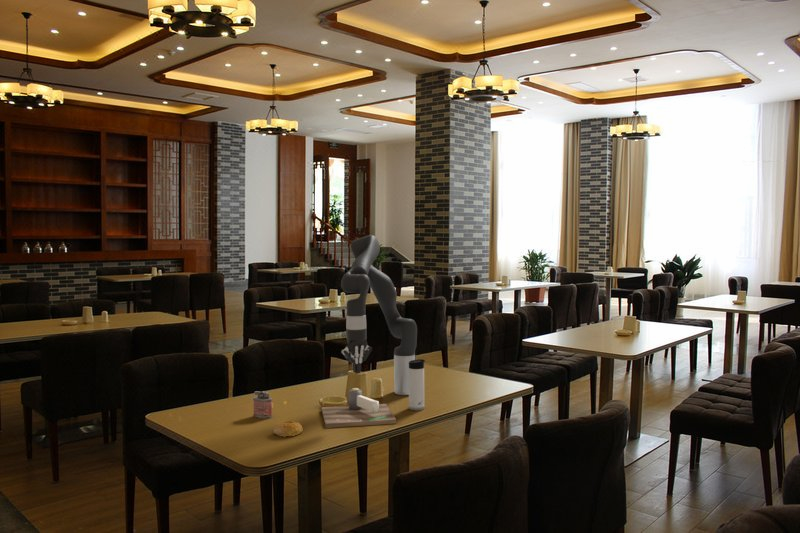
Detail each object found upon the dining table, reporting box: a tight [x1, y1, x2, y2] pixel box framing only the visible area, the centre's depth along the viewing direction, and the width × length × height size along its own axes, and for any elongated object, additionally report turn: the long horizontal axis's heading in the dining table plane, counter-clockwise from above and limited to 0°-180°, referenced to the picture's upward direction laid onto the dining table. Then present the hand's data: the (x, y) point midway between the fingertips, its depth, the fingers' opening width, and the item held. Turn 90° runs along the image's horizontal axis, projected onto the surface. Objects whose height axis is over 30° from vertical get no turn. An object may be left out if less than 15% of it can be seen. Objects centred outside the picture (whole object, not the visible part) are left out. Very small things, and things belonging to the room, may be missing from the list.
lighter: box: [252, 390, 273, 420], centre depth 253 cm, size 8×3×10 cm, turn 71°
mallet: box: [348, 387, 380, 413], centre depth 254 cm, size 18×5×8 cm, turn 36°
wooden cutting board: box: [321, 403, 397, 429], centre depth 252 cm, size 23×26×2 cm
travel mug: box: [408, 358, 426, 411], centre depth 263 cm, size 6×7×20 cm
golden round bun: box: [273, 420, 304, 438], centre depth 233 cm, size 10×11×5 cm
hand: (357, 373), depth 245 cm, fingers closed
